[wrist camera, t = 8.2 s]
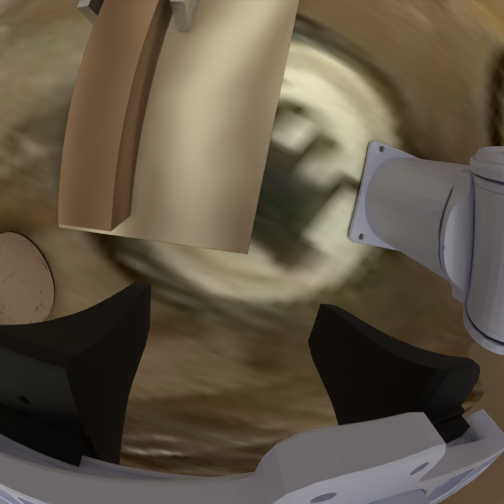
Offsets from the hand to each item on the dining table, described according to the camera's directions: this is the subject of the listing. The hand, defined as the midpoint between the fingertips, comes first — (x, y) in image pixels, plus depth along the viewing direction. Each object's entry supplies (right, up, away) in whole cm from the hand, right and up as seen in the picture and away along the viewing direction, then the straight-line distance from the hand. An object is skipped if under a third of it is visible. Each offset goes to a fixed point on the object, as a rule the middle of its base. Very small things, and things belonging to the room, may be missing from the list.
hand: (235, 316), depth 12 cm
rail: (-7, +13, +3) cm, 16 cm away
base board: (-4, +15, +4) cm, 16 cm away
